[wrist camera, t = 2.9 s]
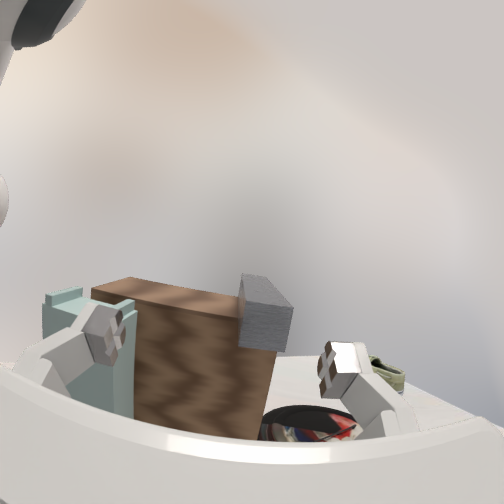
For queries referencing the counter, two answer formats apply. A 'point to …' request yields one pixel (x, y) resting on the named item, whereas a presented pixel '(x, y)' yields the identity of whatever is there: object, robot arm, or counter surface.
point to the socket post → (97, 376)
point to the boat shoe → (388, 374)
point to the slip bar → (262, 315)
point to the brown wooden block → (192, 360)
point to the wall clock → (308, 425)
